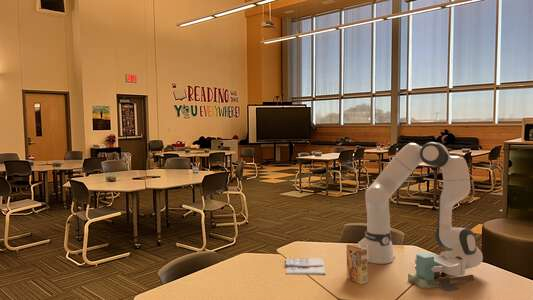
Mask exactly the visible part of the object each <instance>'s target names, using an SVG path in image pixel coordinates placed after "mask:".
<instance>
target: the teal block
mask: <svg viewBox="0 0 533 300" xmlns="http://www.w3.org/2000/svg"><path fill="white" fill-rule="evenodd" d="M422 253H423V252H422ZM415 265H416V268H415V269H416V271H415V272H416V273H415V274H416V276H417V277H419V278H421V279H423V280H425V281H427V282H433V281H435V277H434V272H433V271H431V270H430V269H431V268H430V267H431V266H434V256H432V255H429V254H427V253H423V254H416V263H415Z"/></svg>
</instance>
